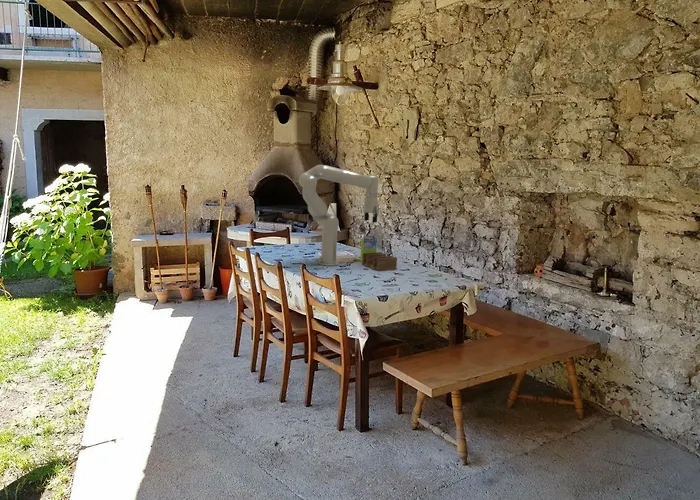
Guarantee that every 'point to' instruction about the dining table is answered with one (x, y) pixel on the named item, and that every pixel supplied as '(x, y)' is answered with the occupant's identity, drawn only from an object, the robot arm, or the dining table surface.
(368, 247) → the box
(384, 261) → the rack
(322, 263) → the robot arm
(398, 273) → the dining table surface
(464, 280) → the dining table surface
